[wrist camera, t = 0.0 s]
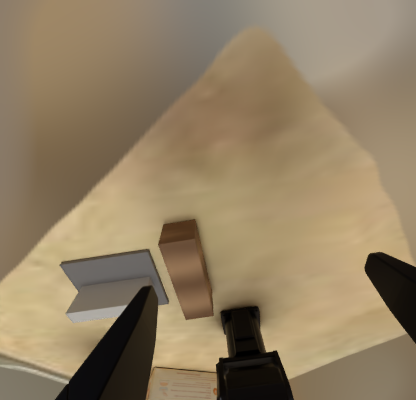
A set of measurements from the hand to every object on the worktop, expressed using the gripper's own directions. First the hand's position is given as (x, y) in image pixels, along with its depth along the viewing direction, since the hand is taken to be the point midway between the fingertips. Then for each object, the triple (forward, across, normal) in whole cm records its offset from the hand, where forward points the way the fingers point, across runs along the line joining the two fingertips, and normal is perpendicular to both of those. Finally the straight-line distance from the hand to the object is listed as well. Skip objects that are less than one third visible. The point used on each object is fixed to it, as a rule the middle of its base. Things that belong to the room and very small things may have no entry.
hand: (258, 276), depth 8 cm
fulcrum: (+15, +17, +15) cm, 27 cm away
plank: (+15, +6, +13) cm, 21 cm away
